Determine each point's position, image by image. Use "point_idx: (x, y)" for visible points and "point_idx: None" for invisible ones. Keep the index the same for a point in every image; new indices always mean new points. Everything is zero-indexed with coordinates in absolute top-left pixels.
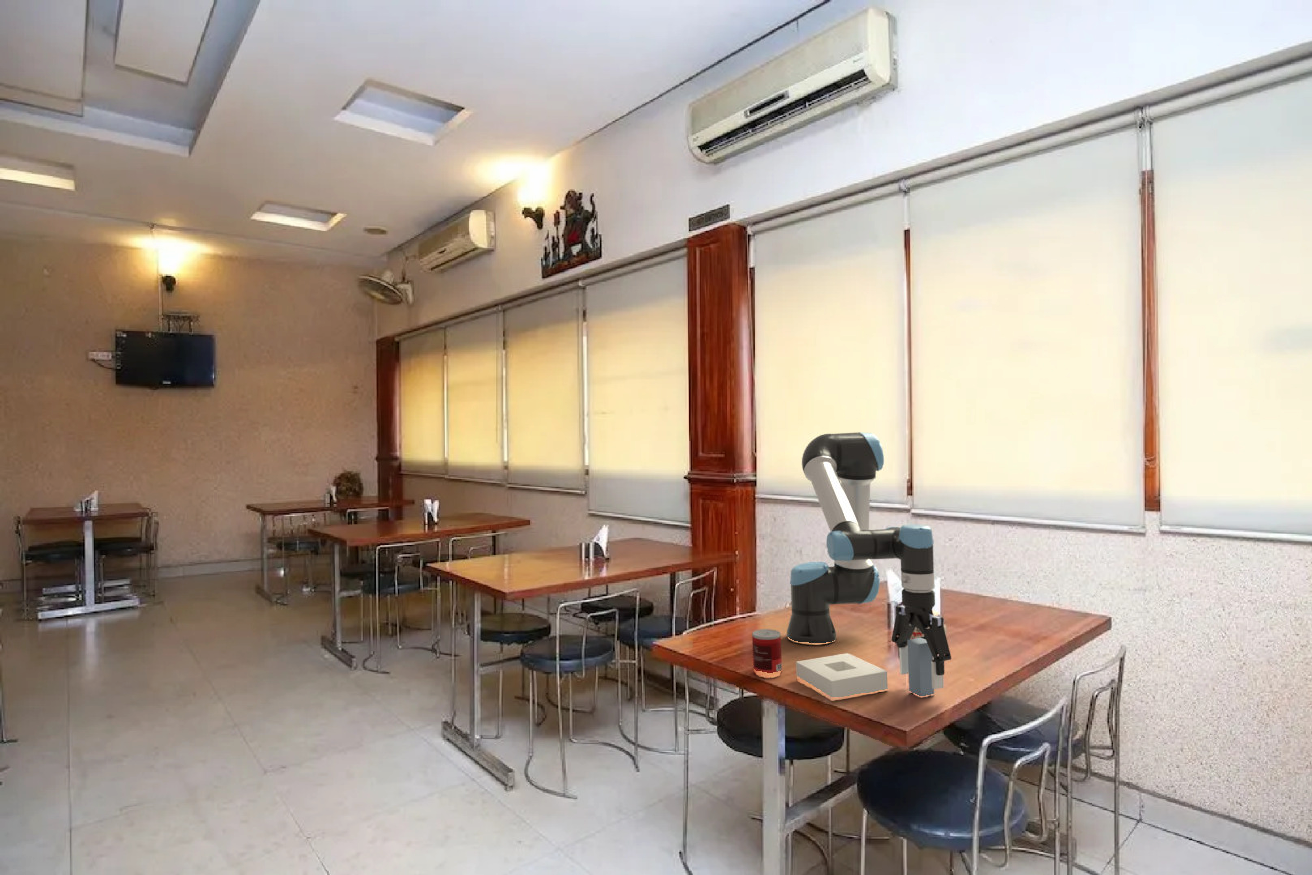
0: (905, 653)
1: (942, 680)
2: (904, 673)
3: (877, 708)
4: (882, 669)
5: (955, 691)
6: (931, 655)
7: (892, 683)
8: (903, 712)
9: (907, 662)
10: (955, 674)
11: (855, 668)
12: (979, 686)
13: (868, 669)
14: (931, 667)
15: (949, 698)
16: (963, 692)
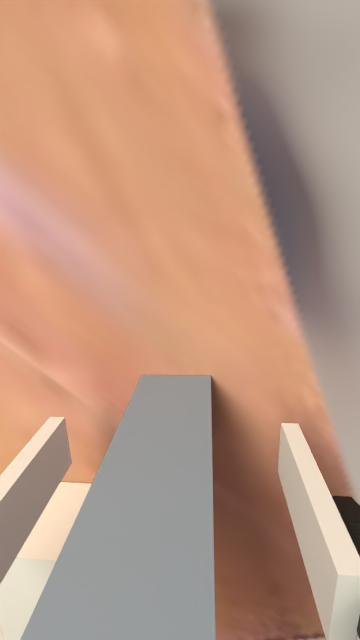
0: (4, 538)
1: (307, 452)
2: (68, 452)
3: (218, 589)
4: (45, 561)
5: (209, 257)
6: (212, 551)
7: (37, 420)
8: (284, 554)
9: (37, 474)
10: (6, 66)
11: (1, 627)
12: (206, 81)
13: (28, 601)
14: (309, 580)
15: (262, 341)
16: (235, 232)
